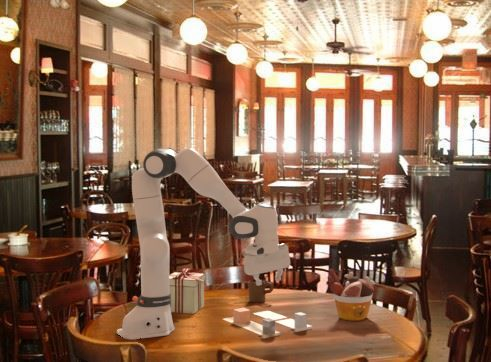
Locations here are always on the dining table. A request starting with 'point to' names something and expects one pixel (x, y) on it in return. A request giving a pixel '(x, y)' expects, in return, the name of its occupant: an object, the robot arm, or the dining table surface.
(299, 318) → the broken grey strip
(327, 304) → the dining table surface
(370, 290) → the bucket of meat
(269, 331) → the white long base
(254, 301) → the mug
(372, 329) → the dining table surface
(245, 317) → the terracotta block
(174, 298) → the gift box
